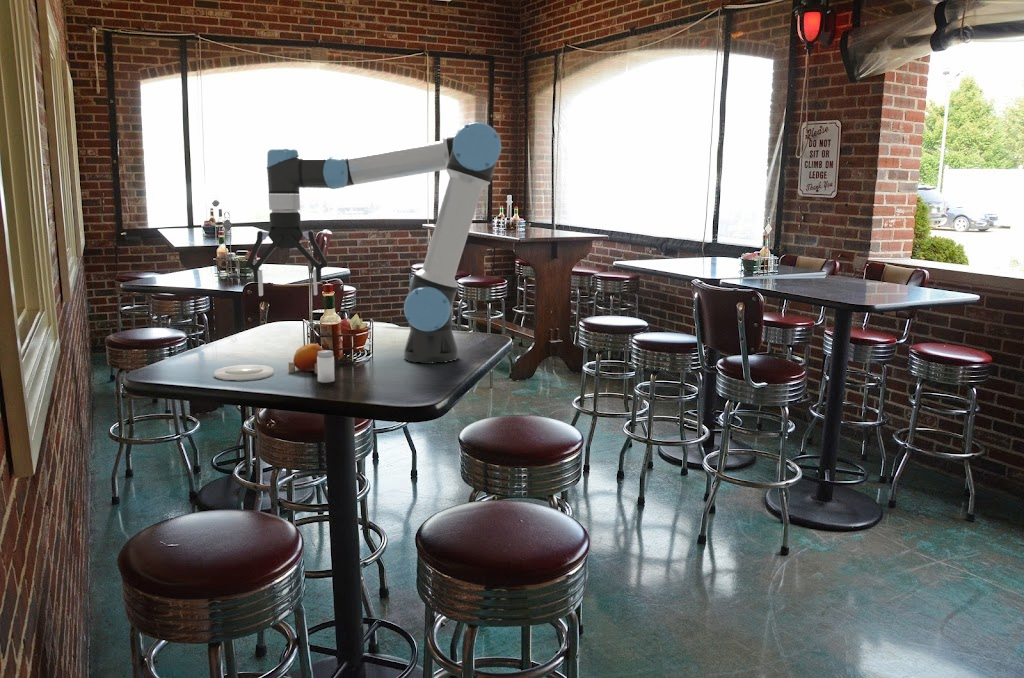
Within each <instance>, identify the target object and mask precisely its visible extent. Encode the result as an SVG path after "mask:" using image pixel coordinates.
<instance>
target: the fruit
mask: <svg viewBox="0 0 1024 678" xmlns="http://www.w3.org/2000/svg"><path fill="white" fill-rule="evenodd" d="M322 350H324V348H323V347H322V346H320V345H319V344H318V343H306V344H305V345H303V346H301V347H299V348H298V349H296V350H295V353H294V356H293V361H292V362H295V368H296V369H298V370H299V371H300V372H303V373H304V372H305V373H306V372H315V363H317V356H318V351H322Z"/></svg>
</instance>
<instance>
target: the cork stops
mask: <svg viewBox="0 0 1024 678" xmlns="http://www.w3.org/2000/svg"><path fill="white" fill-rule="evenodd" d="M288 373H289V374H292V373H296V366H295V362H293V361H289V362H288ZM314 374H315V375H318V372H317V363H315V371H314Z"/></svg>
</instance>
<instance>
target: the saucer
mask: <svg viewBox="0 0 1024 678" xmlns="http://www.w3.org/2000/svg"><path fill="white" fill-rule="evenodd" d="M273 375H274V368H273V367H271V366H269V365H263V364H262V365H261V364H236V365H230V366H224V367H220V368H217V369H215V370H214V378H215V377H216V378H215V379H217V378H218V380H221V379H222V381H229V380H236V381H235V382H243V381H254V380H255V381H256V380H260V379H265V378H270V377H271V376H273Z"/></svg>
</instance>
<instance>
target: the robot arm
mask: <svg viewBox="0 0 1024 678" xmlns="http://www.w3.org/2000/svg"><path fill="white" fill-rule="evenodd" d="M501 152H502V140H501V138H500V135H499V133H498V132H497V131H496V129H494V128H493V127H492V126H491V125H489V124H486V123H485V122H480V121H474V122H469V123H466V124H464V125H463V126H462V127H460V128H459V129H458V130H457V132H456V133H454V134H450V135H445V136H444V137H443V138H442V139H441V140H439V141H435V142H428V143H422V144H414V145H409V146H405V147H398V148H392V149H386V150H380V151H374V152H369V153H362V154H357V155H351V156H342V157H336V156H328V157H327V156H325V157H318V156H317V157H313V156H312V157H305V156H304V157H303V156H302V157H301V156H299V152H298V150H296V149H294V148H271V149H269V150H268V152H267V155H266V156H267V161H266V162H267V163H266V170H267V171H266V172H267V185H268V208H269V210H270V211H271V212H270V213H269V227H270V228H269V231H263V230H258V231H257V234H256V241H255V243H254V245H253V247H252V249H251V252H250V253H249V256H248V258H247V260H246V261H245V262H246V263H245V267H246V268H248V269H250V270H252V272H253V274H252V275H253V282H254V283H255V284H257V283H258V284H257V285H258V296H259V297H262V296H264V282H263V281H264V280H263V279H264V277H263V269H260V268H261V266H262V265H263V264H264V262H266V260H267V259H268V258H269V256H271V254H272V253H273V252H274V250H276V248H278V249H279V250H280V249H282V250H283V249H288V250H290V249H291V250H293V249H294V248H297V250H298V251H299V252H300V253H301V254H302V255H303V256H304V257H305V258H306V260H308V262H309V263H310V264H311V265H312V266H313V267H314V268H313V269H312V279H313V281H312V282H313V283H312V284H313V285H312V286H313V287H312V288H313V296H317V295H318V283H320V282H321V281H322V269H323V268H326V267H328V265H329V263H328V260H327V259H326V258H325V255H324V253H323V252H322V249H321V248H320V246H319V244H318V242H317V241H316V239H315V233H314V230H309V231H302V230H303V229H302V223H301V222H302V221H301V213H300V212H299V210H301V200H300V189H301V188H302V189H304V188H310V189H311V188H313V189H314V188H315V189H332V190H336V189H343V188H345V187H348V186H354V185H360V184H367V183H372V182H378V181H383V180H384V181H386V180H391V179H398V178H403V177H408V176H409V177H410V176H414V175H420V174H421V175H422V174H426V173H433V172H434V173H435V172H439V171H446V172H447V174H448V177H449V180H448V183H447V187H446V189H445V193H444V197H443V199H442V203H441V206H440V210H439V212H438V216H437V219H436V223H435V227H434V228H433V229H434V230H433V232H432V235H431V238H430V242H429V246H428V249H427V252H426V255H425V260H424V262H423V265H422V268H420V269H419V270H417V271H415V272H414V274H413V276H412V277H411V278H410V280H409V285H408V286H409V287H408V288H409V290H408V294H407V296H406V298H405V299H404V303H403V312H404V316H405V319H406V320H407V322H408V323H409V325H410V327H409V335H408V336H407V337H408V338H407V340H406V343H405V346H404V349H403V359H404V360H405V359H406V360H405V361H407V360H408V361H407V362H411V361H412V362H411V363H416V362H421V363H420V364H437V363H436V362H445V361H450V360H454V359H456V358H458V359H459V349H458V346H457V345H458V344H457V342H456V338H455V336H454V333H453V304H454V301H455V297H456V294H457V292H458V288H459V285H458V283H457V281H456V279H455V278H456V274H457V272H458V271H457V270H458V269H459V265H460V262H461V258H462V255H463V253H464V249H465V246H466V242H467V240H468V235H469V232H470V229H471V226H472V224H473V219H474V217H475V213H476V210H477V206H478V204H479V200H480V197H481V194H482V190H483V189H484V188H485V187H487V186H488V185H490V184H491V182H492V179H493V176H494V172H495V169H496V166H497V163H498V161H499V158H500V156H501ZM267 237H268V238H269V239H270V240H271V242H272V243H271V244H270V245H269V246H268V248H267V249H266V250H265V251H264V253H263V254H262V255H261V257H260V258H259V259H258V260H257V261H256V262H255V263H254V260H255V259H256V257H257V254H258V253H259V250H260V249H261V245H262V243H263V241H265V240H266V239H267ZM303 237H305V238H306V240H308V241H309V242H310V244H311V246H312V248H313V250H314V252H315V253H316V256H317V257H318V259H319V261H320V262H318V261H317V259H316V258H315V257H314V256H313V255H312V254H311V252H309V251H308V250H307V249H306V247H305V246H304V245H303V244H302V242H301V240H302V239H303ZM430 362H431V363H430ZM432 362H433V363H432ZM445 363H446V362H445Z"/></svg>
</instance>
